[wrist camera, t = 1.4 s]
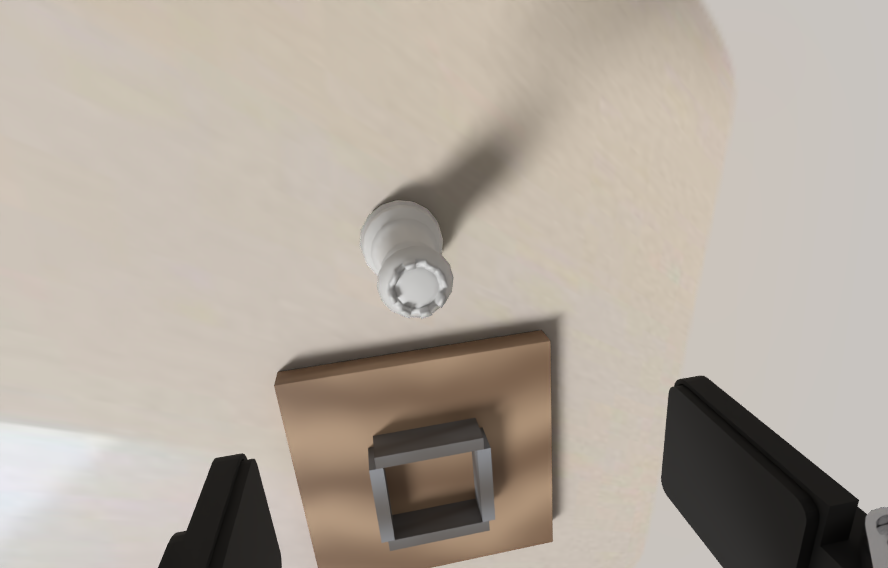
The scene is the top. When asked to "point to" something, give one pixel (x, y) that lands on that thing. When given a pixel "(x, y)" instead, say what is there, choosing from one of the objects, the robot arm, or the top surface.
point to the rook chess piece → (407, 258)
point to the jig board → (424, 452)
